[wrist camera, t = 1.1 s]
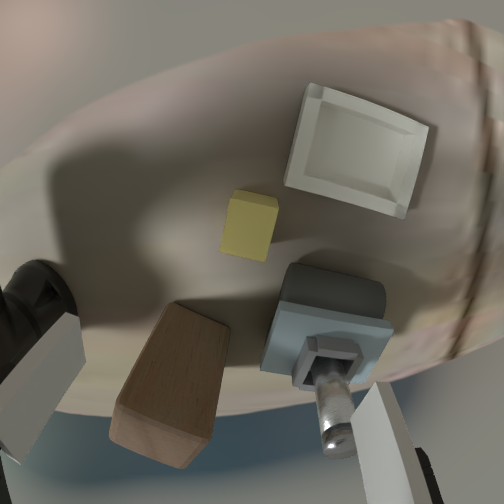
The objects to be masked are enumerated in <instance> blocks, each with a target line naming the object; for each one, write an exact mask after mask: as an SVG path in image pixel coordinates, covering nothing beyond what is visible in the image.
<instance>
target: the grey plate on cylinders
mask: <svg viewBox="0 0 504 504" xmlns="http://www.w3.org/2000/svg"><path fill="white" fill-rule="evenodd" d="M385 307H386V292H385V289H384V286H383V285H382V283H380V282H377V281H372V280H368V279H363V278H359V277H354V276H350V275H345V274H341V273H336V272H332V271H328V270H323V269H319V268H314V267H310V266H305V265H301V264H296V263H290V265H289V266H288V269H287V271H286V274H285V277H284V280H283V284H282V288H281V293H280V298H279V304H278V307H277V310H276V314H275V316H274V317H273V318H272V320H271V323H270V326H269V329H268V332H267V336H266V341H265V346H264V351H263V354H262V357H261V360H260V371H266V372H272V373H278V374H284V375H291V376H292V385H293V386H296V387H299V390H304V391H313V392H315V390H314V383H313V377H312V371H311V365H312V363H313V361H314V359H315V357H316V356H323V357H330V358H338V359H341V361H342V364H343V368H344V371H345V375H346V378H347V382H348V385H349V383H350V382H351V383H363V384H364V382H365V380H366V379H367V377H368V376H369V374H370V372H371V371H372V369H373V367H374V366H375V364H376V362H377V361H378V359H379V357H380V355H381V354H382V352H383V350H384V348H385V346H386V345H387V343H388V341H389V339H390V337H391V335H392V334H393V332H394V328H393V326H392V325H391V323H390V321H389V320H383V316H384V312H385Z"/></svg>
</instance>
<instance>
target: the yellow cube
mask: <svg viewBox="0 0 504 504" xmlns="http://www.w3.org/2000/svg"><path fill="white" fill-rule="evenodd" d="M278 211H279V206H278V201H277V198H274V197H270V196H265V195H261V194H257V193H252V192H248V191H243V190H239V189H236V190H235V191H234V193H233V195H232V196H231V198H230V202H229V207H228V212H227V217H226V221H225V226H224V231H223V236H222V241H221V246H220V251H219V252H220V253H224V254H229V255H233V256H238V257H242V258H247V259H251V260H256V261H260V262H265V261H266V258H267V254H268V250H269V246H270V242H271V238H272V235H273V231H274V227H275V223H276V219H277V215H278Z"/></svg>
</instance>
